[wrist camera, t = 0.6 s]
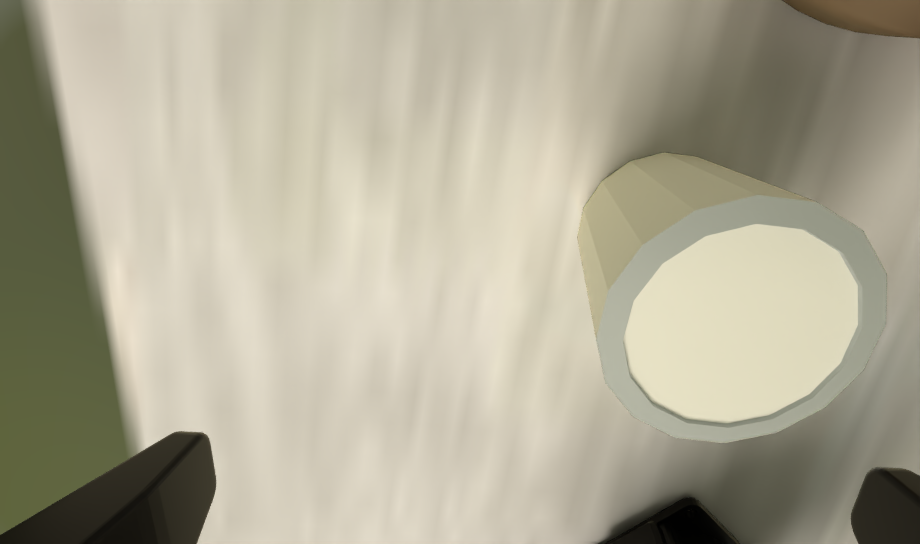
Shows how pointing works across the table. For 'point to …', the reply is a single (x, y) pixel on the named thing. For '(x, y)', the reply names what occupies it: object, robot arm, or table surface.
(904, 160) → the table surface
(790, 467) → the table surface
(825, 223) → the cream short cylinder
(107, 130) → the table surface
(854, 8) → the walnut pedestal
